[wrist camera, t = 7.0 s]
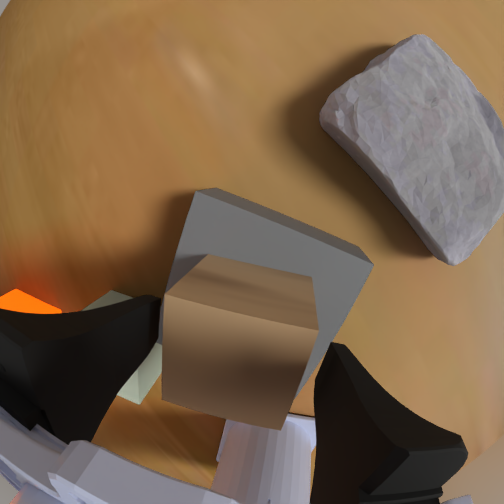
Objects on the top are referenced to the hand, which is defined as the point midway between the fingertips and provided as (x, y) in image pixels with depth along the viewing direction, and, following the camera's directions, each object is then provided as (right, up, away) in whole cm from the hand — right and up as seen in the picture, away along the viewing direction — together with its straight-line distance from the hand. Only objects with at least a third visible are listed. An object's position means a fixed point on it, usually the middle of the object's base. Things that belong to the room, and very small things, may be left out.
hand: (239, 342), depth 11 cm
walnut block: (0, +1, +3) cm, 3 cm away
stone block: (+11, +11, +3) cm, 16 cm away
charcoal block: (+1, +2, +7) cm, 7 cm away
